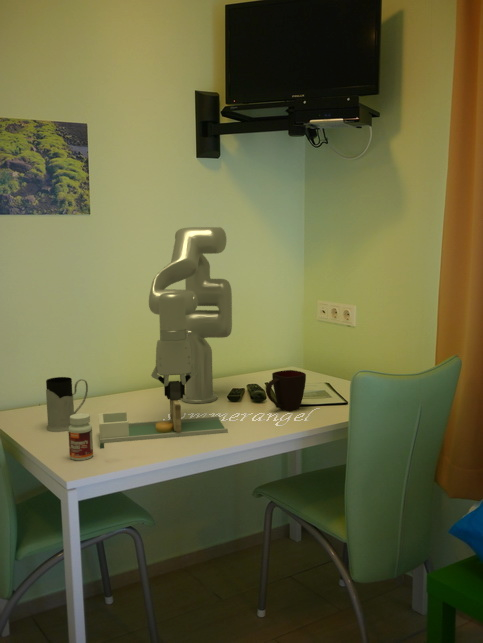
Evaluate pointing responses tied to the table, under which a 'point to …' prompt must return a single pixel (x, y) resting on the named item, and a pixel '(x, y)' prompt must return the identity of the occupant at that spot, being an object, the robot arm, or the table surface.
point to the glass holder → (61, 403)
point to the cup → (287, 389)
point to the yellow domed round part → (164, 427)
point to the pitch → (152, 428)
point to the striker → (175, 405)
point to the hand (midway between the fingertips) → (174, 397)
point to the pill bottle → (80, 437)
